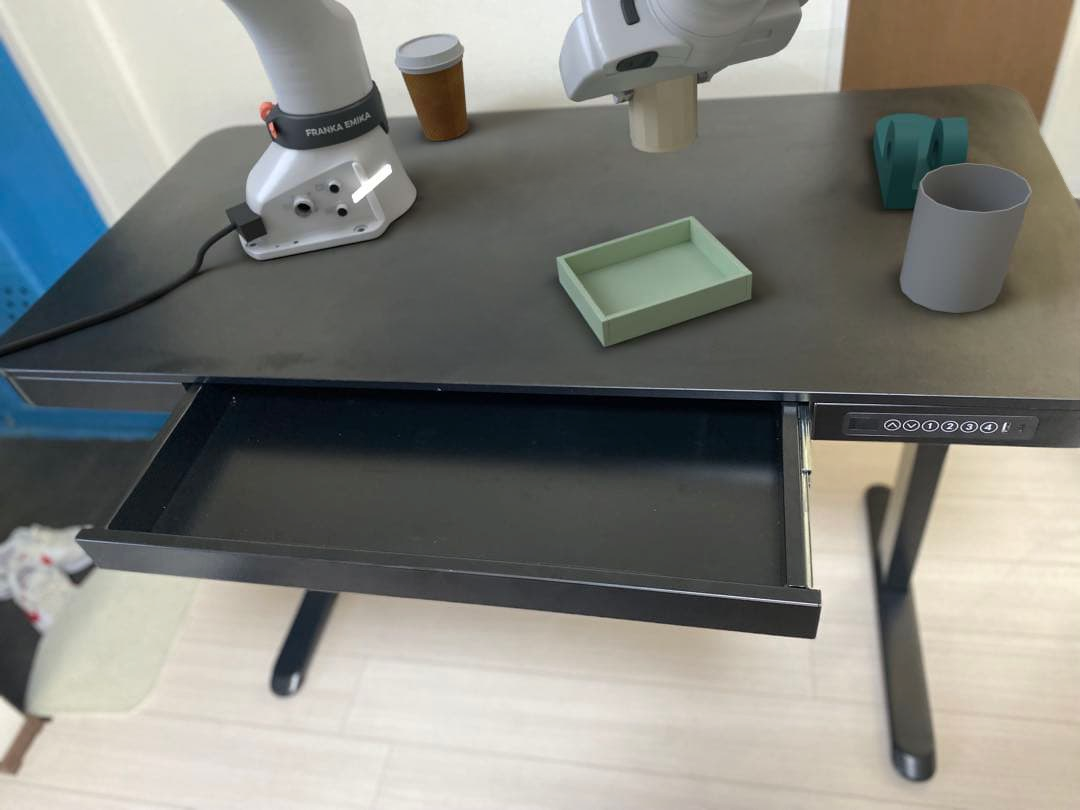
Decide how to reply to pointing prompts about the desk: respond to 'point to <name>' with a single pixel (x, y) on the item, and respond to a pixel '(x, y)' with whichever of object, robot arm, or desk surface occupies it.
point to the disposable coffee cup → (435, 83)
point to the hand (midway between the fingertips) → (659, 85)
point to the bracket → (915, 153)
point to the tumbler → (664, 115)
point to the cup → (963, 236)
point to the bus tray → (653, 280)
